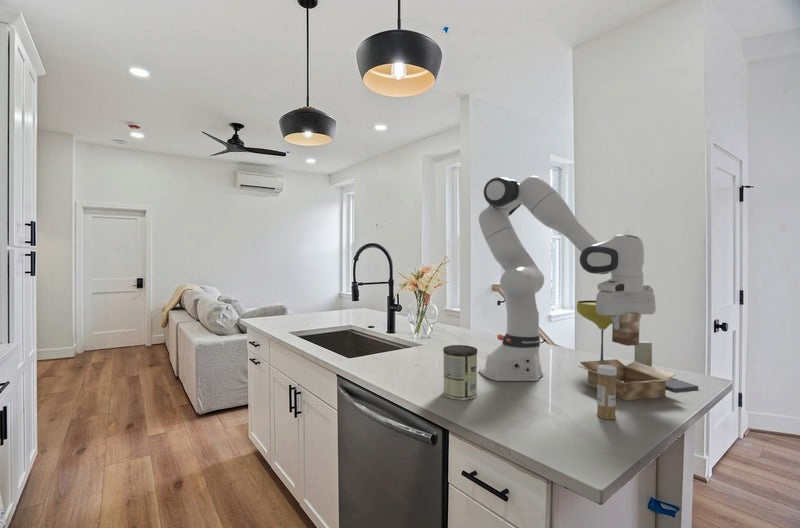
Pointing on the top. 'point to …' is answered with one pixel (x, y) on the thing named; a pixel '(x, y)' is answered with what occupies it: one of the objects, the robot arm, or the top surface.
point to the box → (643, 353)
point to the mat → (679, 385)
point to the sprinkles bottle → (606, 391)
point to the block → (627, 330)
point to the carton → (632, 379)
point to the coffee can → (460, 372)
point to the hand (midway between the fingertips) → (625, 328)
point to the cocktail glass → (594, 317)
